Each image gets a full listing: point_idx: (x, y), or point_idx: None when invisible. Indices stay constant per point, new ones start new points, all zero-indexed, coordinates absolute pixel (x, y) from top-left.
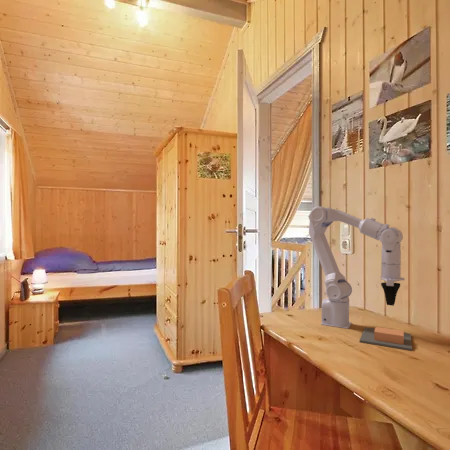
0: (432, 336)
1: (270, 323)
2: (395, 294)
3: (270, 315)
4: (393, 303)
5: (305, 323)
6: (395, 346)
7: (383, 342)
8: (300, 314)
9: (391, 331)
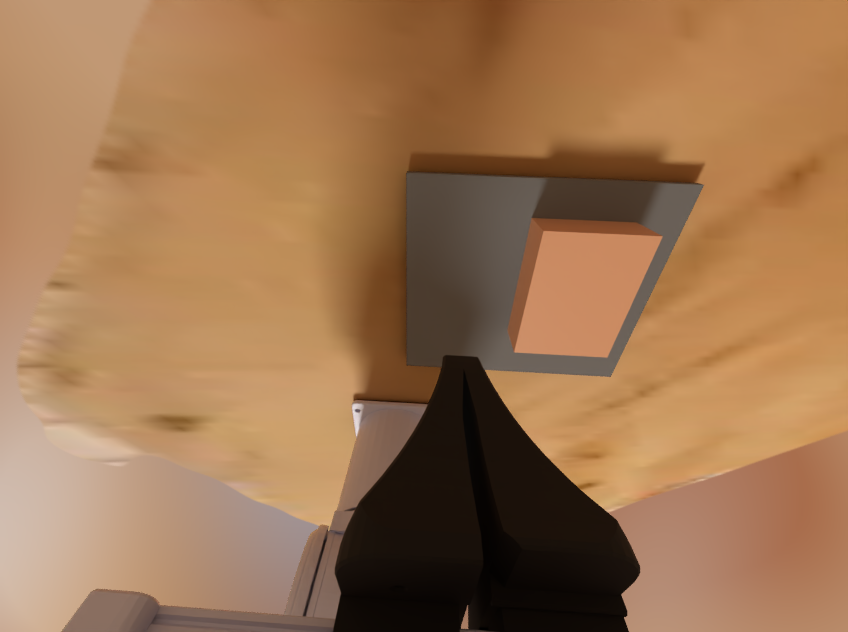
0: (327, 17)
1: None
2: (525, 438)
3: None
4: (483, 372)
5: None
6: (665, 258)
7: None
8: None
9: (579, 291)
